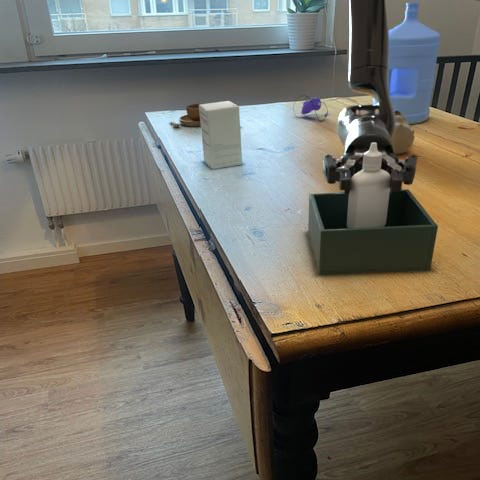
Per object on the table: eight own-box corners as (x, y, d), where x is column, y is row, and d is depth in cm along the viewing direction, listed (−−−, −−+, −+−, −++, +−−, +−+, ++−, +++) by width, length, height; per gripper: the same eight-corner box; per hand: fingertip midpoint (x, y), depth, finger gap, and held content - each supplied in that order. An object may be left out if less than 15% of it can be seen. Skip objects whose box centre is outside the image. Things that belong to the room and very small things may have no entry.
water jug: (398, 110, 151) (411, 1, 135) (440, 119, 139) (459, 0, 124) (359, 119, 145) (368, 5, 129) (399, 128, 133) (414, 4, 118)
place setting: (221, 115, 158) (219, 95, 155) (243, 128, 143) (242, 106, 139) (167, 122, 154) (164, 102, 150) (184, 136, 138) (181, 114, 135)
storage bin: (402, 229, 80) (408, 189, 77) (430, 270, 69) (438, 226, 65) (308, 233, 81) (309, 193, 77) (318, 275, 69) (320, 231, 66)
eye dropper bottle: (387, 234, 71) (397, 147, 64) (346, 233, 72) (352, 148, 65) (384, 221, 74) (394, 138, 67) (346, 221, 75) (351, 138, 68)
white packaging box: (233, 157, 119) (229, 100, 112) (242, 165, 113) (239, 105, 106) (203, 161, 118) (197, 103, 111) (211, 170, 112) (206, 109, 105)
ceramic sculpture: (376, 116, 108) (368, 106, 121) (372, 157, 112) (365, 143, 125) (427, 115, 107) (414, 105, 120) (421, 156, 111) (409, 143, 124)
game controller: (291, 102, 151) (324, 93, 150) (297, 130, 153) (329, 121, 152) (291, 97, 142) (326, 87, 140) (297, 127, 144) (332, 118, 142)
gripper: (323, 126, 80) (317, 158, 66) (418, 125, 77) (432, 158, 63) (322, 173, 84) (315, 212, 70) (411, 173, 81) (423, 214, 68)
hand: (371, 186), depth 67 cm, fingers closed on eye dropper bottle, 5 cm apart
